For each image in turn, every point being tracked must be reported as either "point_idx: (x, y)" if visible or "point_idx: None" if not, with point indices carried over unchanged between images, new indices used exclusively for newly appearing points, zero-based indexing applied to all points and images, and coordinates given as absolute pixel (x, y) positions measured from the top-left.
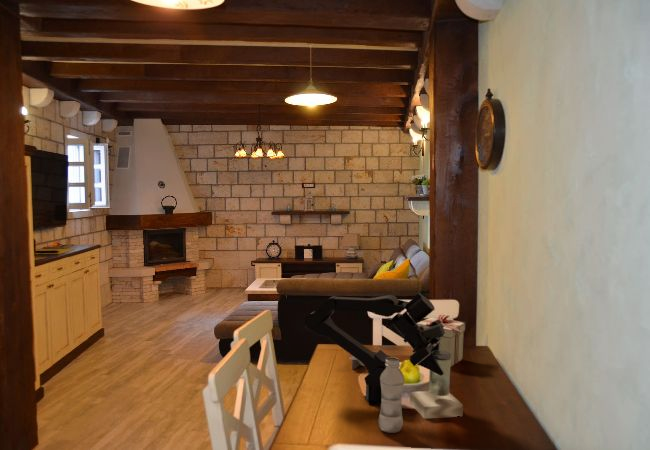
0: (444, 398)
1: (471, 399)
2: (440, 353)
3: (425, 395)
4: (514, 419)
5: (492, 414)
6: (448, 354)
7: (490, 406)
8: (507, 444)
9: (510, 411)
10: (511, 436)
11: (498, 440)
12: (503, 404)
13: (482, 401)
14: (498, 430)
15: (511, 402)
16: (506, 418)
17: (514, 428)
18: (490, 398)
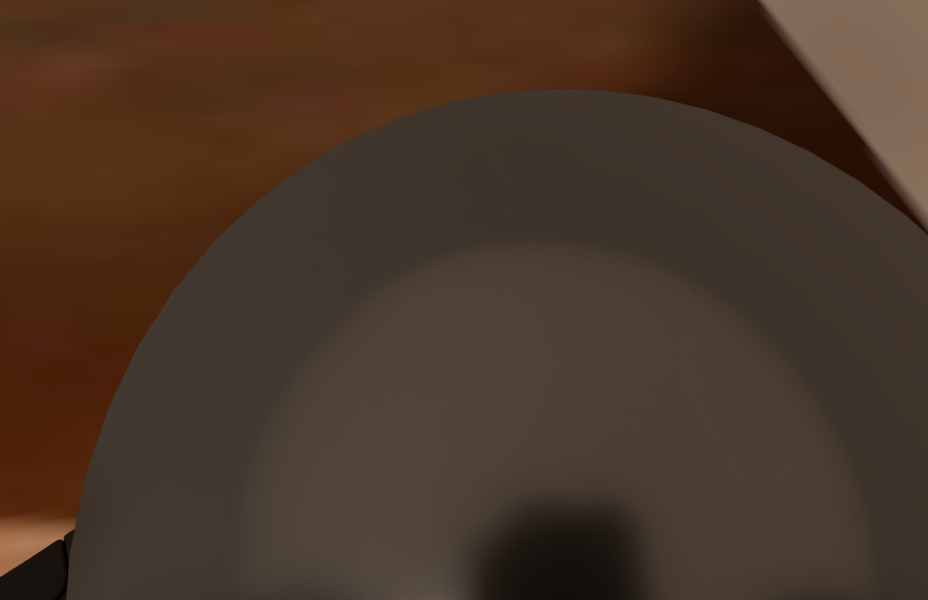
0: None
1: (64, 294)
2: (705, 508)
3: None
4: (388, 9)
5: (354, 130)
6: (638, 168)
7: (191, 149)
8: (793, 43)
9: (250, 29)
10: (668, 25)
11: (769, 86)
12: (120, 69)
13: (92, 208)
14: (619, 89)
15: (61, 23)
16: (391, 50)
17: (538, 10)
18: (3, 156)
